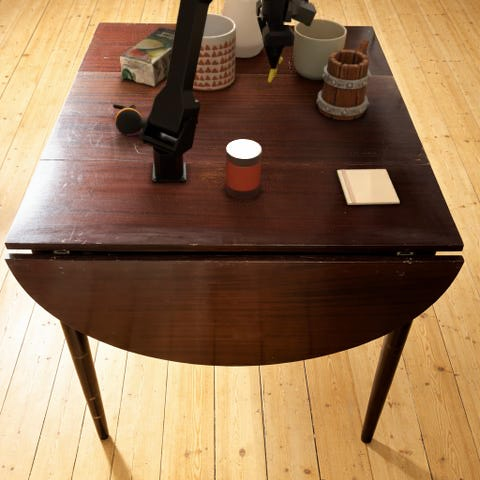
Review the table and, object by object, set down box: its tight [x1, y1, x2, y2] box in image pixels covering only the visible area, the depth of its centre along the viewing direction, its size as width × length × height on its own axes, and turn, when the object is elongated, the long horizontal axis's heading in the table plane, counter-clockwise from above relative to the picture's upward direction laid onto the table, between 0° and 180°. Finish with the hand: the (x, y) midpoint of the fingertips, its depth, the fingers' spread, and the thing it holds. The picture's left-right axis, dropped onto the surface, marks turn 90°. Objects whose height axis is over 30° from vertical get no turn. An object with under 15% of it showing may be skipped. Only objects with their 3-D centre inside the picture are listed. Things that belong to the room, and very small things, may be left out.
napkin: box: [336, 168, 400, 206], centre depth 119 cm, size 11×10×1 cm
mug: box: [316, 38, 372, 121], centre depth 136 cm, size 12×14×15 cm
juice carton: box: [119, 26, 175, 87], centre depth 149 cm, size 20×10×6 cm, turn 156°
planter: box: [292, 18, 348, 81], centre depth 148 cm, size 12×12×11 cm
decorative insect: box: [267, 22, 285, 84], centre depth 137 cm, size 13×3×10 cm
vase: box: [193, 12, 236, 92], centre depth 144 cm, size 14×14×13 cm
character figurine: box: [112, 103, 147, 137], centre depth 132 cm, size 10×6×12 cm
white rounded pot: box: [220, 0, 264, 59], centre depth 155 cm, size 13×13×14 cm
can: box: [225, 139, 262, 201], centre depth 114 cm, size 6×6×9 cm
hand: (271, 61), depth 135 cm, fingers closed on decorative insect, 6 cm apart
